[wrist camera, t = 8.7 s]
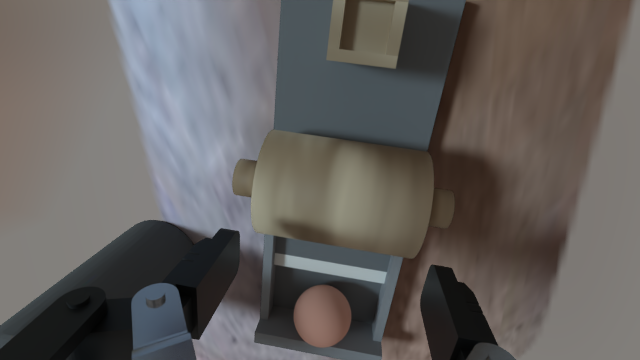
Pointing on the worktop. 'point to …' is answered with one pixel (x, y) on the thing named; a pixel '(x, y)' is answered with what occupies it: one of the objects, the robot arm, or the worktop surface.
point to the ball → (322, 316)
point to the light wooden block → (366, 31)
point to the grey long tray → (355, 125)
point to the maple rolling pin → (343, 193)
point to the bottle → (114, 270)
